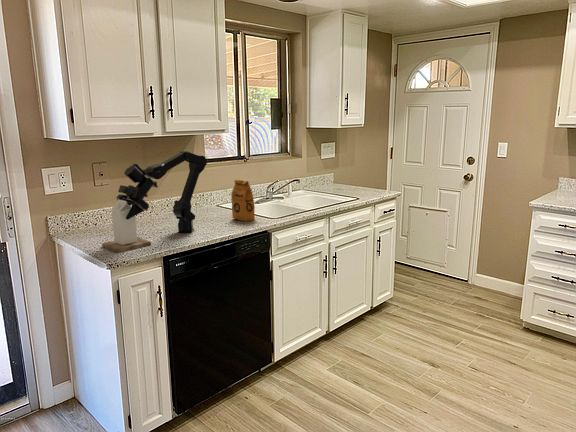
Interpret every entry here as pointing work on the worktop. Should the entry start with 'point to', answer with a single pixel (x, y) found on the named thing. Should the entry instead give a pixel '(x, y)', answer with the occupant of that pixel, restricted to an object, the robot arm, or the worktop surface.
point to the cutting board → (126, 245)
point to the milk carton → (123, 224)
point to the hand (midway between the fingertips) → (121, 217)
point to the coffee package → (242, 201)
